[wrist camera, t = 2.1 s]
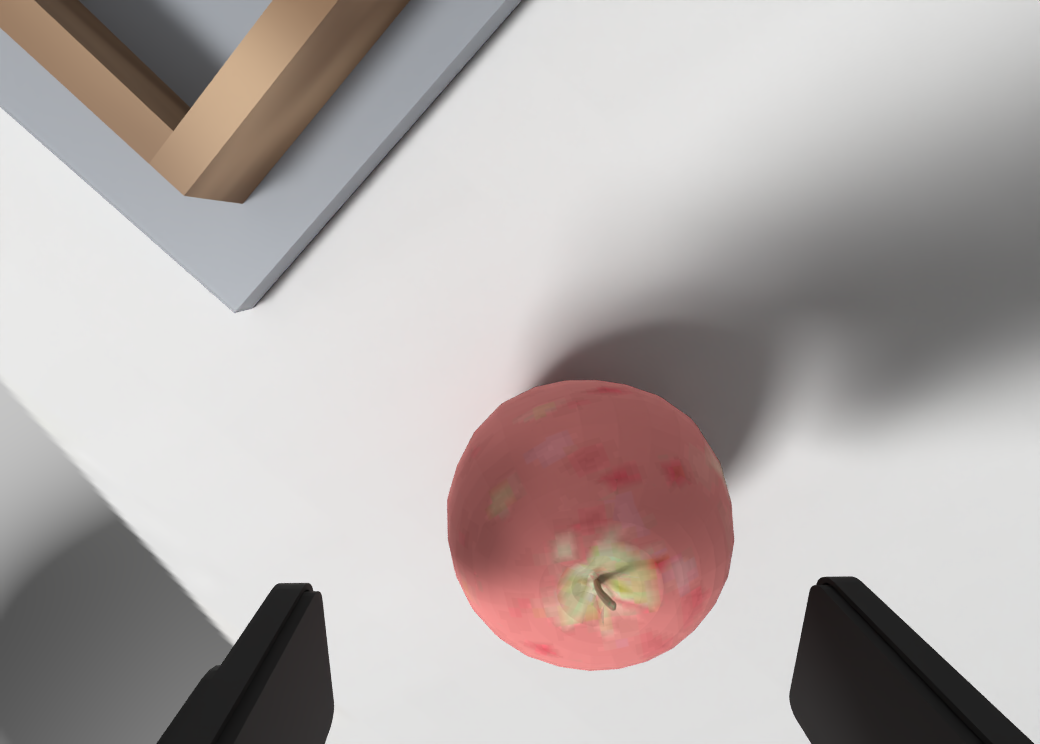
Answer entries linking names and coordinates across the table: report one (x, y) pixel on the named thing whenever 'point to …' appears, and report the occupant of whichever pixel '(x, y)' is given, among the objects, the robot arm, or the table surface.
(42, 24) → the tray
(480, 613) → the apple
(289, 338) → the table surface
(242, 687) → the robot arm
